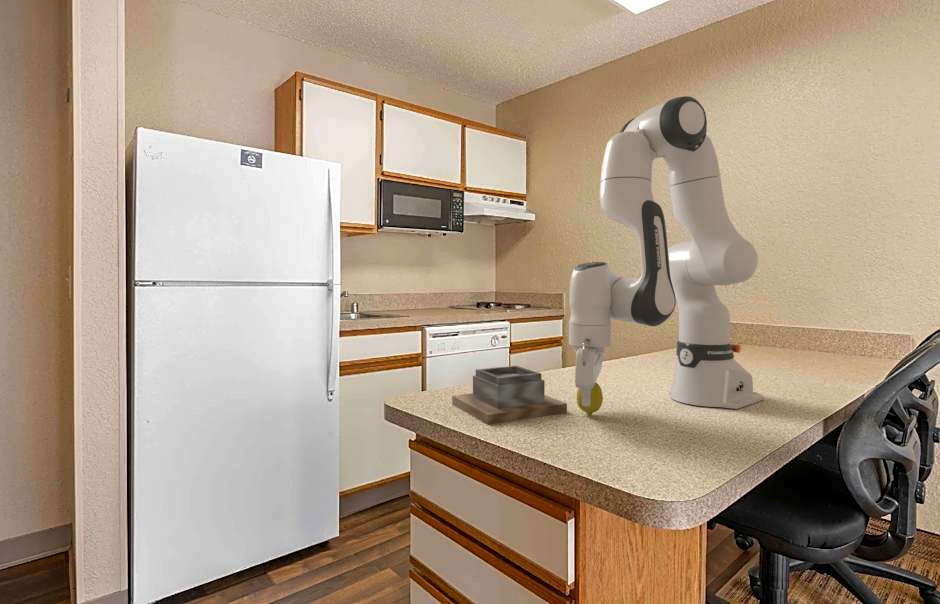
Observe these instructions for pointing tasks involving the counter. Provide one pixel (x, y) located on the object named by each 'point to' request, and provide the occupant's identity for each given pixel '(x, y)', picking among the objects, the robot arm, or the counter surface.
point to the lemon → (595, 400)
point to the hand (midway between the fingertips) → (588, 400)
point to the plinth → (507, 412)
